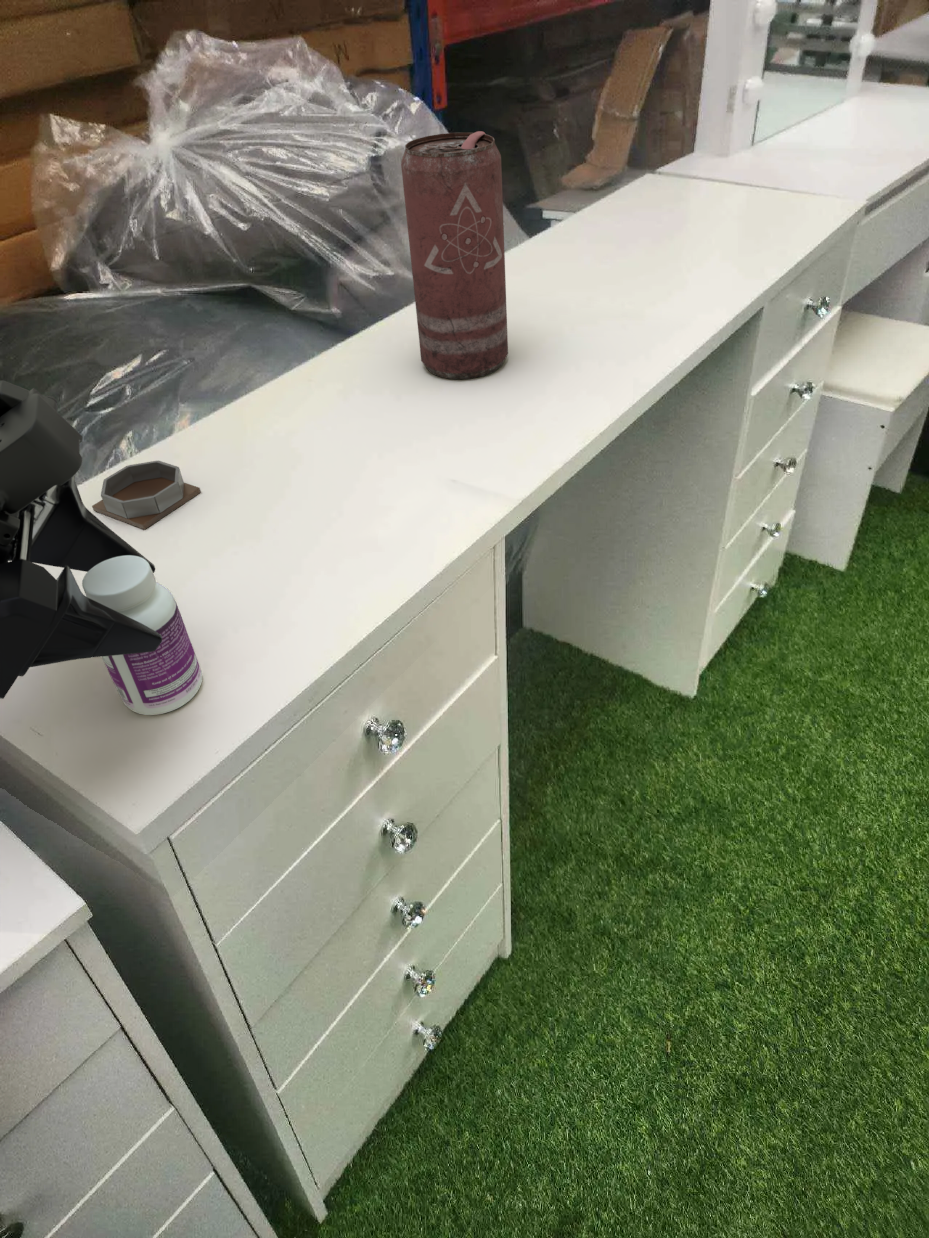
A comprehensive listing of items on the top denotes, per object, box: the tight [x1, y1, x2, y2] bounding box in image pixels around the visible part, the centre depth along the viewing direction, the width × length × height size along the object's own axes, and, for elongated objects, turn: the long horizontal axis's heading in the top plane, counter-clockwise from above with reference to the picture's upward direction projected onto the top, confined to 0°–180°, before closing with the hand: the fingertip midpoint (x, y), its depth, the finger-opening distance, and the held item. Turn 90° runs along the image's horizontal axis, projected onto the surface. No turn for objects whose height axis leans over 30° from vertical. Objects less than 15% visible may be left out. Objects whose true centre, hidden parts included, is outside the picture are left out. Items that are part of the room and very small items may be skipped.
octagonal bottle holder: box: [91, 460, 202, 530], centre depth 76 cm, size 7×7×2 cm
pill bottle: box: [81, 555, 203, 716], centre depth 55 cm, size 5×5×10 cm
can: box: [400, 130, 509, 380], centre depth 88 cm, size 9×10×22 cm
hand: (155, 606), depth 54 cm, fingers open, 7 cm apart
